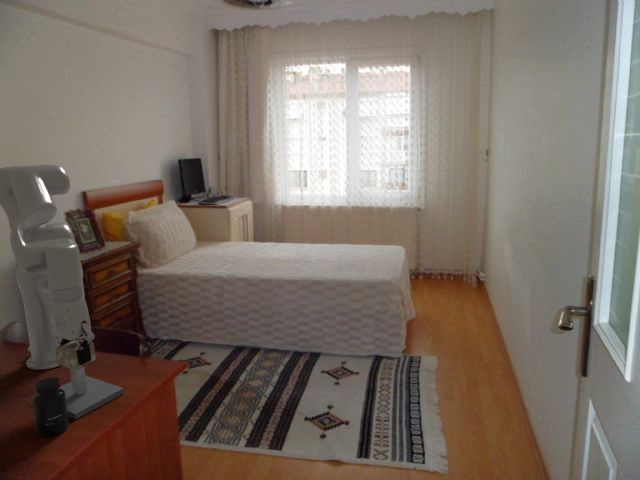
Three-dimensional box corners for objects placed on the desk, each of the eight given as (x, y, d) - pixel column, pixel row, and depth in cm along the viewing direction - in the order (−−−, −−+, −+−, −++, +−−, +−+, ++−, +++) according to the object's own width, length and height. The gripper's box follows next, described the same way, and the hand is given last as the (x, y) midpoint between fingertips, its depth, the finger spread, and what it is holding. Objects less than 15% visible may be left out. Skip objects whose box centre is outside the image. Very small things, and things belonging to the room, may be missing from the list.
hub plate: (36, 403, 125) (35, 398, 125) (85, 380, 137) (84, 375, 137) (75, 419, 118) (74, 414, 117) (123, 393, 130) (123, 388, 129)
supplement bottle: (55, 439, 110) (48, 390, 108) (29, 436, 111) (22, 388, 109) (76, 422, 117) (70, 376, 114) (51, 419, 118) (44, 373, 116)
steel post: (73, 394, 127) (69, 369, 125) (81, 390, 129) (78, 365, 127) (79, 396, 126) (75, 371, 124) (87, 392, 128) (84, 367, 126)
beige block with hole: (57, 364, 124) (54, 347, 123) (80, 354, 130) (77, 338, 129) (72, 369, 121) (70, 351, 120) (95, 359, 126) (93, 342, 126)
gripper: (32, 292, 123) (41, 359, 126) (75, 301, 114) (84, 373, 118) (60, 285, 129) (68, 348, 133) (103, 293, 121) (111, 360, 124)
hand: (76, 359), depth 125 cm, fingers closed on beige block with hole, 6 cm apart
